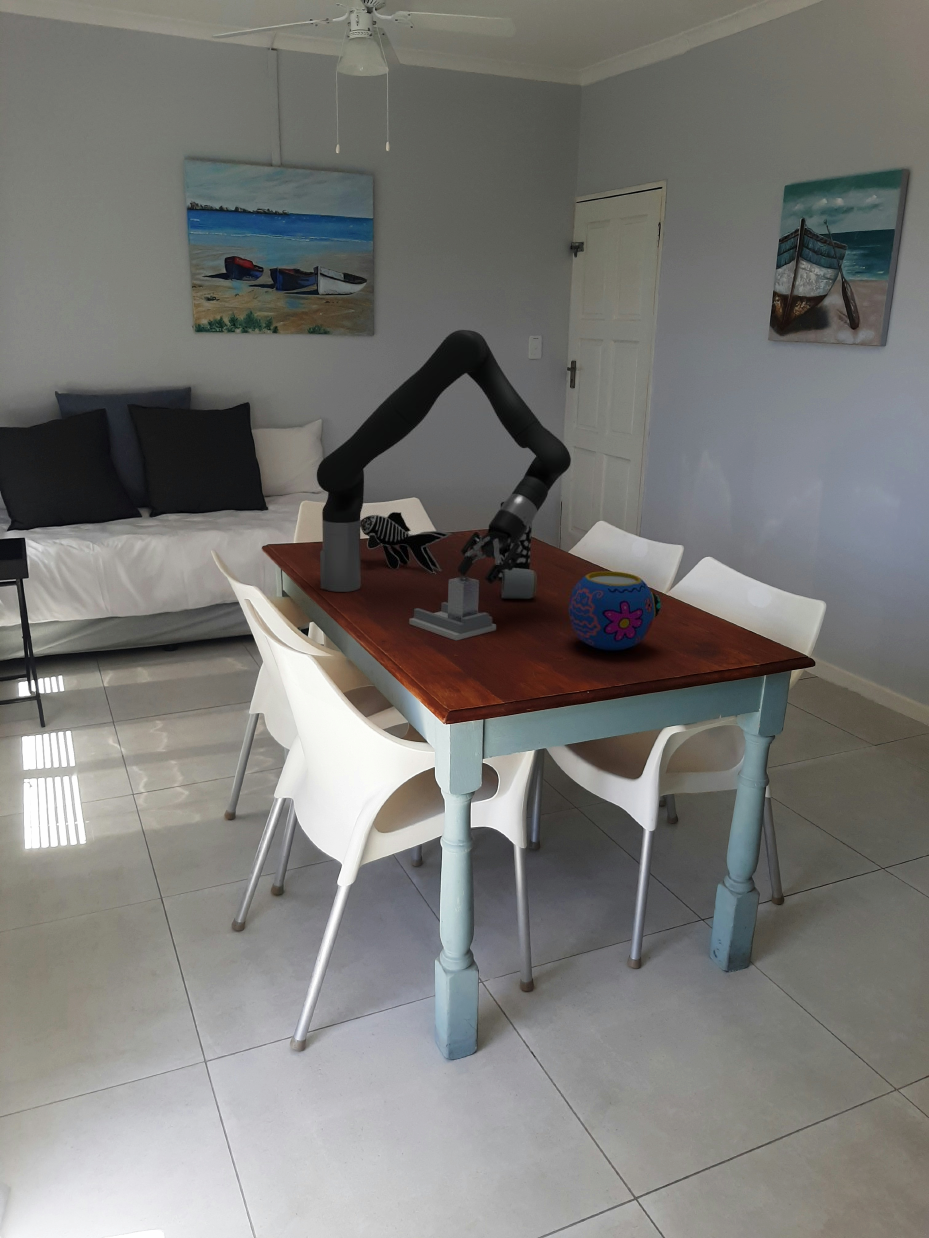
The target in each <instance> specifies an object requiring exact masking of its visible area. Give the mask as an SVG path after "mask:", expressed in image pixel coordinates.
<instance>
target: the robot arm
mask: <svg viewBox="0 0 929 1238" xmlns="http://www.w3.org/2000/svg"><path fill="white" fill-rule="evenodd" d="M464 375H468V376H469V377H470V378H471V379H472V380H473V381H474V383H476V384H477V385H478V386H479V388H480V389H481V390H482V392H483V393H484V395H485V396H486V398H487V400H488V402H489V403H490V405H491V407H492V409H493V411H494V413H495V414H496V417H497V419H498V420H499V422H500V424H501V425H502V426H503V427H504V429H505V430H506V432H507V434H509V435H510V437H511V438H512V439H513V440H514V442H515V443H516V444H517V445H518V446H519V448H522V449H529V451H531V452H532V454H534V455H535V457H534V458H533V460H532V461H531V463H530V465H529V466H528V468H527V470H526V472H525V473H524V476H523V478H522V479H521V480H520V481H519V482H518V484H517V485H516V486H515V488H514V490H513V491H512V493H511V494H510V495H509V496H508V498H507V499H506V500H505V501H503V502H504V504H503V505H502V507H501V506H500V507H501V508H499V509H498V511H497V513H496V514H495V515H494V517H493V518H492V520H491V521H490V523H489V524H488V530H487V532H486V533H485V534H484V535H482V534H480V533H479V532H478V531H475V532H473V533H472V535H471V536H470V538H469V539H468V540H467V542H466V543H465V544H464V545H463V547H462V548H461V550H460V553H461V554H462V555H463V556H464V558H463V559H462V561H461V562H460V564H459V565H458V567H457V572H458V573H459V575H460V576H461V577H463V576H465V577H466V575H467V573H468V572H469V570H470V569H471V567H472V566H473V565H474V563H475V562H476V561H477V560H479V559H480V560H482V559H485V558H492V559H493V560H494V563H495V564H493V565H492V566H491V567H490V569H489V571H488V572H487V573H486V575H485V576H484V580H485V581H486V582H487V584H490V585H492V584H493V583H494V582H495V581H496V580H498V579H497V578H498V576H499V574H500V573H501V572H502V571H504V570H505V569H508V570H509V571H510V570H512V569H513V567H514V566H515V564H516V562H517V561H518V559H519V557H520V556H521V554H522V552H523V550H524V549H523V548H522V546H521V545H520V544H519V543H518V542H519V541H520V539H521V538H522V536H523V535H524V533H525V532H526V530H527V529H528V527H529V526H530V524H531V523H532V524H533V521H534V519H535V517H536V515H537V514H538V512H539V510H540V508H541V507H542V506H543V504H544V502H545V501H546V500H547V498H548V494H549V491H550V490H551V488H552V487H553V485H554V484H555V482H557V480H559V479H558V478H559V477H561V476H562V475H564V473H566V472H567V470H569V468H570V467H571V462H572V457H571V455H570V451H569V450H568V448H567V447H566V445H565V444H564V443H563V441H561V440H560V439H559V438H558V437H557V436H556V435H555V434H553V433H552V432H551V431H550V430H549V429H547V428H546V427H545V426H544V425H542V423H541V422H540V420H539V419H538V418H537V416H536V415H535V414H534V412H533V411H532V409H531V408H530V407H529V406H528V404H527V402H525V401H524V400H523V398H522V397H521V395H520V394H519V393H518V391H517V390H516V388H515V387H514V386H513V385H512V384H511V382H510V381H509V379H508V378H507V376H506V375H505V373H504V372H503V370H502V368H501V366H500V365H499V363H498V362H497V360H496V358H495V355H494V354H493V352H492V350H491V349H490V347H489V345H488V343H487V340H486V339H485V338H484V336H483V335H482V334H480V333H479V332H477V331H474V330H469V329H459V330H455V331H453V332H451V333H450V334H448V335H447V336H446V337H445V338H444V340H443V341H442V342H441V343H440V345H438V347H437V348H436V349H435V350H434V352H433V353H432V354H431V355H430V357H429V358H428V359H427V360H426V362H424V363H423V365H422V366H421V367H420V368H419V369H418V370H417V371H416V372H414V374H412V375H411V376H409V378H407V379H406V380H405V381H404V382H403V383H402V384H401V385H399V387H398V388H396V389H395V390H393V392H392V393H391V394H390V395H389V396H388V397H387V398H386V399H385V400H384V401H383V402H382V403H380V404H379V406H378V407H376V408H375V410H374V411H373V412H372V413H371V414H370V415H369V417H368V418H367V419H366V420H365V421H364V422H363V423H362V424H361V425H360V426H359V428H358V429H357V430H356V431H355V432H354V433H353V435H351V436H350V437H349V438H348V439H347V440H346V441H345V442H344V443H342V444H341V445H340V446H338V448H336V449H335V450H334V451H332V452H331V453H329V454H328V455H327V456H326V457H324V458H323V459H322V460H321V462H320V463H319V465H318V467H317V469H316V481H317V483H318V486H319V487H320V488H321V489H322V490H323V491H325V492H327V494H328V495H327V499H326V502H325V504H324V506H323V507H322V512H321V517H322V518H321V519H322V524H321V525H322V549H321V550H320V551H319V553H320V556H319V557H320V558H319V561H320V563H319V564H320V568H319V569H320V571H319V572H320V573H319V574H320V589H321V590H326V591H328V592H329V591H330V592H337V593H339V592H341V593H344V592H346V593H347V592H354V591H357V590H359V589H360V588H361V582H362V581H361V580H362V579H361V527H360V520H361V515H362V514H361V513H362V509H363V505H364V496H365V495H364V489H365V470H364V469H365V468H366V467H367V466H368V465H369V464H370V463H371V462H372V461H373V460H374V459H376V458H377V457H379V456H380V455H382V454H383V453H385V452H386V451H388V450H389V449H391V448H392V447H394V446H395V445H396V444H398V443H399V442H401V441H402V440H403V439H405V438H406V437H407V436H408V435H409V434H410V433H411V432H412V431H413V430H414V429H416V428H417V427H418V425H419V424H420V423H422V422H423V420H424V419H425V418H426V417H427V415H428V414H429V412H430V411H431V409H432V408H433V406H434V405H435V403H436V402H437V400H438V398H440V396H441V394H443V392H444V391H446V389H448V388H449V387H450V386H451V385H452V384H454V383H455V382H456V381H457V380H458V379H460V378H461V377H462V376H464ZM508 552H509V553H508ZM507 553H508V554H507ZM506 554H507V556H506ZM510 560H511V562H510ZM509 562H510V563H509Z"/></svg>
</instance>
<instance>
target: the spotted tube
mask: <svg viewBox="0 0 929 1238" xmlns="http://www.w3.org/2000/svg"><path fill="white" fill-rule="evenodd" d="M504 502H505V501H502V502H500V508H501V507H502V505H503V504H504ZM500 508H499V509H500ZM532 529H533V522H532V523H531V524H530V526H529V527H528V529H527V530H526V532H525V533H524V535H523V536H522V538H521V539H520V541H519V542H518V543H519V544H520V545H521V546H522V548H523V549H524V550H523V552H522V554H521V556H520V557H519V559H518V561H517V562H516V564H515V566H514V567H513V568H519V569H529V570H531V568H530V567H531V550H532V549H531V546H532V532H533V531H532ZM508 553H509V552H508ZM508 553H507V554H508ZM507 554H506V556H507ZM510 562H511V560H510ZM510 562H509V563H510ZM502 576H503V571H502V572H501V573H500V574H499V576H498V577H497V579H496V580H498V581H499V582H502Z"/></svg>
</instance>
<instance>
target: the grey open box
mask: <svg viewBox="0 0 929 1238" xmlns="http://www.w3.org/2000/svg"><path fill="white" fill-rule="evenodd" d="M440 604H441V606H440V607H441V610H440V611H437V612H434V613H433V612H431V611H428V610H425V609H422V608H419V607H418V608H417V607H416V608H414V609H413V617H412V618H409V620H408V621H409V625H411V626H414V627H417V628H420V629H423V630H426V631H428V632H430V633H433V634H437V635H439V636H442V637H445V638H448V639H451V640H453V641H460V640H462V639H463V640H464V639H467V638H471V637H474V636H479V635H482V634H487V633H489V632H490V633H491V632H494V631H497V624H496V623H493V617H492V616H491V615H489V613H488V612H485V611H484V612H478V614H476V615H472V616H467V617H463V618H461V622H458V621H455V620H452V619H449V618H448V601H447V602H446V601H444V602H441V603H440Z"/></svg>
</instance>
